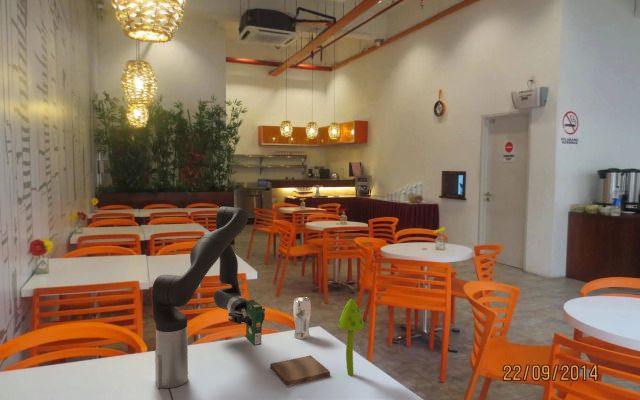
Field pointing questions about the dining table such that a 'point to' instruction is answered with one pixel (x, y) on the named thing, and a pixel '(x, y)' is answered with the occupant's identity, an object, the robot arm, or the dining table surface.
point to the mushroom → (350, 329)
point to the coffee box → (254, 322)
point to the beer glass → (301, 317)
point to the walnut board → (299, 370)
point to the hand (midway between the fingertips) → (256, 322)
